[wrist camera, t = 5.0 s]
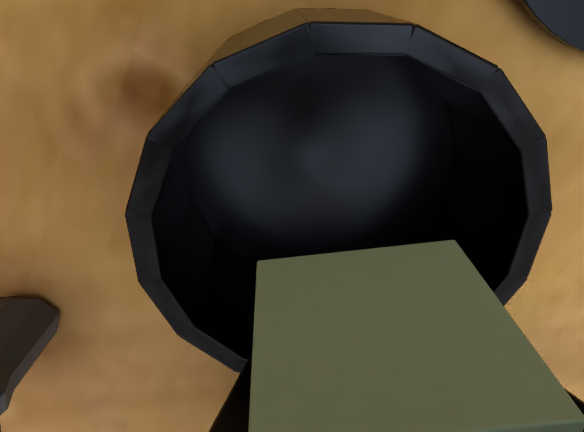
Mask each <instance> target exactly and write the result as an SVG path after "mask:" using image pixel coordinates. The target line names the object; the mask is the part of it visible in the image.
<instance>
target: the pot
mask: <svg viewBox="0 0 584 432" xmlns="http://www.w3.org/2000/svg"><path fill="white" fill-rule="evenodd" d="M545 137H546V136H545V134H544V132H543V131H542V129H541V128H540V126H539V125H538V123H537V122H536V120H535V119H534V117H533V116H532V114H531V113H530V111H529V110H528V108H527V107H526V105H525V104H524V102H523V101H522V99H521V98H520V96H519V95H518V93H517V92H516V90H515V89H514V87H513V86H512V84H511V83H510V81H509V80H508V78H507V77H506V75H505V74H504V72H503V71H502V69H500V68H498V66H497V65H495V64H493V63H491V62H489V61H487V60H485V59H483V58H481V57H479V56H478V55H476V54H474V53H472V52H470V51H468V50H466V49H464V48H462V47H460V46H458V45H456V44H454V43H452V42H451V41H449V40H447V39H445V38H443V37H441V36H439V35H437V34H435V33H433V32H431V31H429V30H427V29H425V28H424V27H422V26H420V25H418V24H414V23H411V22H407V21H404V20H400V19H397V18H393V17H390V16H386V15H383V14H379V13H376V12H372V11H369V10H359V9H334V8H324V9H312V8H298V9H293V10H291V11H288V12H286V13H284V14H281V15H279V16H277V17H274V18H272V19H269V20H266V21H263V22H261V23H259V24H257V25H255V26H253V27H252V28H249V29H247V30H245V31H243V32H240V33H238V34H236V35H233V36H232V37H231V38H229V39H228V40H227V41H226V42H225V43H224V44H223V45H222V46H221V48H220V49H219V50H218V51H217V52H216V53H215V54H214V55H213V56H212V58H211V59H210V60H209V61H208V62H207V63H206V64H205V65H204V67H203V68H202V69H201V70H200V71H199V72H198V73H197V74H196V75H195V77H194V78H193V79H192V80H191V81H190V82H189V83H188V84H187V85H186V87H185V88H184V89H183V90H182V92H181V93H180V94H179V95H178V96H177V98H176V99H175V100H174V101H173V103H172V104H171V105H170V106H169V108H168V109H167V110H166V111H165V112H164V114H163V115H162V116H161V117H160V119H159V120H158V121H157V122H156V123H155V125H154V126H153V127H152V128H151V130H150V131H149V132H148V135H147V136H146V139H145V143H144V146H143V150H142V153H141V157H140V160H139V164H138V167H137V171H136V175H135V178H134V182H133V185H132V189H131V192H130V196H129V200H128V203H127V207H126V213H125V217H126V222H127V227H128V232H129V237H130V242H131V247H132V252H133V257H134V262H135V267H136V272H137V277H138V281H139V283H140V285H141V286H142V288H143V289H144V290H145V292H146V293H147V294H148V296H149V297H150V298H151V300H152V301H153V302H154V304H155V305H156V307H157V308H158V309H159V311H160V312H161V313H162V315H163V316H164V317H165V319H166V320H167V321H168V323H169V324H170V326H171V327H172V328H173V330H174V331H175V332H176V334H177V335H179V336H180V337H181V338H183V339H184V340H186V341H187V342H189V343H191V344H192V345H194V346H195V347H197V348H198V349H200V350H202V351H203V352H205V353H206V354H208V355H209V356H211V357H213V358H214V359H216V360H217V361H219V362H221V363H222V364H224V365H225V366H227V367H228V368H230V369H233V371H236V372H240V373H241V371H242V370H243V368H244V366H245V364H246V362H247V360H248V359H249V357H250V356H251V355H252V351H253V331H254V311H255V291H256V271H257V262H258V261H260V260H269V259H279V258H288V257H297V256H307V255H316V254H325V253H334V252H344V251H353V250H362V249H372V248H381V247H390V246H399V245H409V244H418V243H427V242H436V241H446V240H455V241H456V242H457V244H458V245H459V246H460V248H461V249H462V250H463V252H464V253H465V255H466V256H467V257H468V259H469V260H470V261H471V263H472V264H473V265H474V267H475V268H476V270H477V271H478V272H479V274H480V275H481V276H482V278H483V279H484V280H485V282H486V283H487V284H488V286H489V287H490V289H491V290H492V291H493V293H494V294H495V295H496V297H497V298H498V299H499V301H500V302H501V304H502V305H503V306H504V305H505V304H506V303H507V302H508V301H509V300H510V298H511V297H512V296H513V295H514V294H515V293H516V292H517V290H518V289H519V288H520V287H521V286H522V285H523V284H524V282H525V281H526V280H527V277H528V275H529V273H530V270H531V267H532V265H533V262H534V259H535V257H536V254H537V251H538V249H539V246H540V243H541V240H542V238H543V235H544V232H545V230H546V227H547V224H548V222H549V219H550V216H551V211H552V201H551V189H550V176H549V164H548V152H547V140H546V138H545Z"/></svg>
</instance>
